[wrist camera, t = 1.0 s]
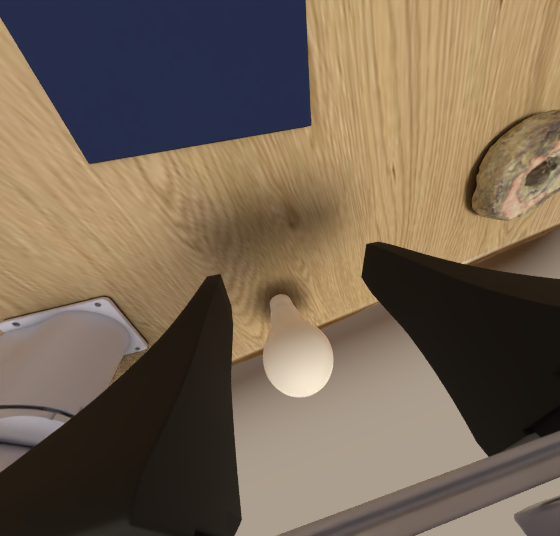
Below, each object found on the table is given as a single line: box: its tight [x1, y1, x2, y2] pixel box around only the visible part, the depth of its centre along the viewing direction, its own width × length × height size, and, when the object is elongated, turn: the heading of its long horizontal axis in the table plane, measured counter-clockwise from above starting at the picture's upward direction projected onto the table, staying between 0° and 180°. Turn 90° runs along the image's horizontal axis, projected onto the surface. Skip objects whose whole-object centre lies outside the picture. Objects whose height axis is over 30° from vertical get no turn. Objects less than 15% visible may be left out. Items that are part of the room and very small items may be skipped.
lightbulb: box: [263, 294, 333, 397], centre depth 20 cm, size 6×6×11 cm
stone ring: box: [472, 110, 560, 221], centre depth 20 cm, size 10×4×10 cm
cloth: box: [0, 0, 311, 164], centre depth 12 cm, size 16×9×1 cm, turn 98°
